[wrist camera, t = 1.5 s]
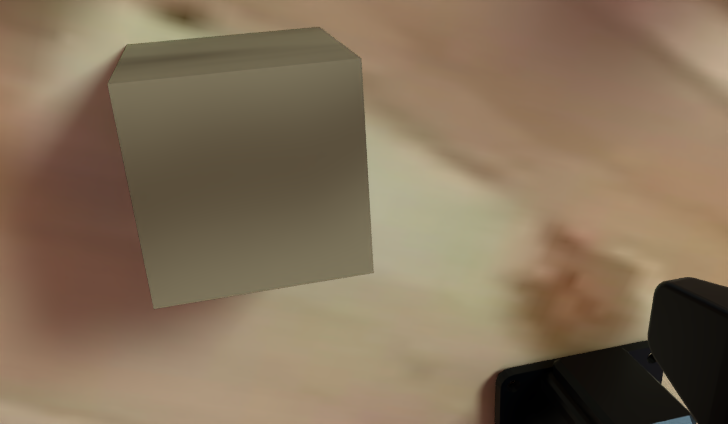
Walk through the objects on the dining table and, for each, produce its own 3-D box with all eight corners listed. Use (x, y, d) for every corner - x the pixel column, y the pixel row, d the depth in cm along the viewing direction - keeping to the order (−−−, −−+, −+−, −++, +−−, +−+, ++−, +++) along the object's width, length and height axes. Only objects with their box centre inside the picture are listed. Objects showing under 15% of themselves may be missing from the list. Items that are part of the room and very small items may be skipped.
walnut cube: (332, 197, 21) (373, 273, 16) (160, 221, 20) (153, 309, 15) (318, 26, 19) (361, 58, 14) (127, 44, 18) (107, 83, 13)
